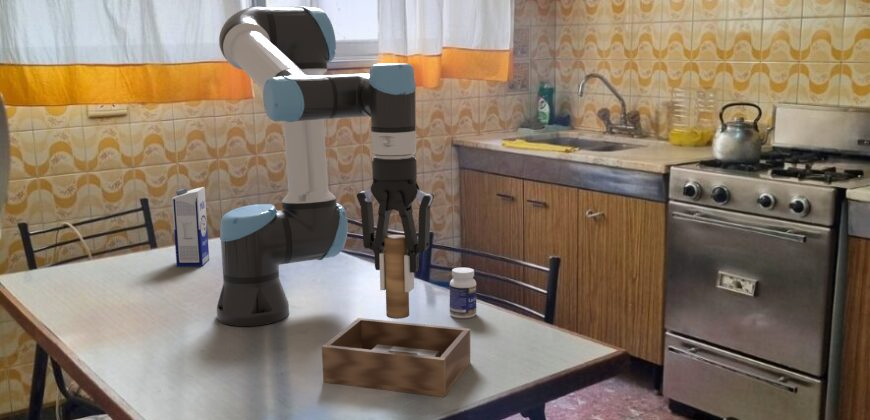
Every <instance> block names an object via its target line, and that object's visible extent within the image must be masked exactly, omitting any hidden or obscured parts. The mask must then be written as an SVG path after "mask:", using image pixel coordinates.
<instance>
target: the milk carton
mask: <svg viewBox="0 0 870 420" xmlns="http://www.w3.org/2000/svg"><path fill="white" fill-rule="evenodd" d="M175 194H176V195H175V196H174V197H172V198H171V202H172V205H171V206H172V218H173V219H172V220H173V233H174V235H173V236H174V244H175V245H174V247H175V248H174V249H175V261H176V263H175V264H176V267H177V268H178V267H179V268H180V267H181V268H182V267H183V268H185V267H203V266H204V265H206V264H207V263H208V262H209V260H210V251H209V250H210V249H209V235H208V219H207V218H208V217H207V203H206V189H205V186H202V187H197V188H194V189H190V190H188V188H187V187H185V188H182V189H179V190H176V191H175Z"/></svg>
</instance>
